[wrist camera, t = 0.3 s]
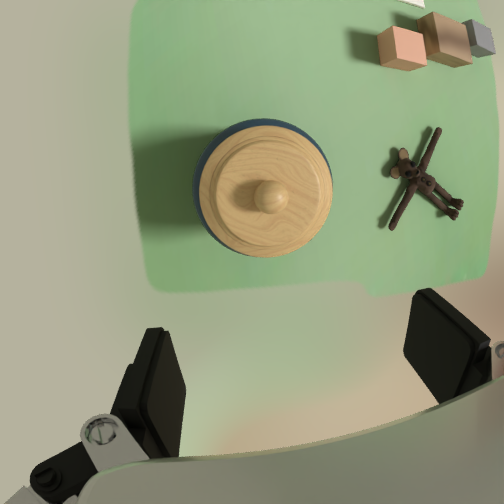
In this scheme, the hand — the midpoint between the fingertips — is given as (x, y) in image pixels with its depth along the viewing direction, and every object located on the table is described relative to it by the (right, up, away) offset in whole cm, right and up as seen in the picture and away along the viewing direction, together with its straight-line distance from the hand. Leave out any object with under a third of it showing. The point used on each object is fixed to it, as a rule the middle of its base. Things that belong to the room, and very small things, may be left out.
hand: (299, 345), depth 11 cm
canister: (-1, +13, +28) cm, 31 cm away
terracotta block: (+19, +32, +23) cm, 44 cm away
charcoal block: (+35, +40, +21) cm, 57 cm away
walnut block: (+28, +36, +22) cm, 51 cm away
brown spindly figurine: (+24, +14, +30) cm, 41 cm away
